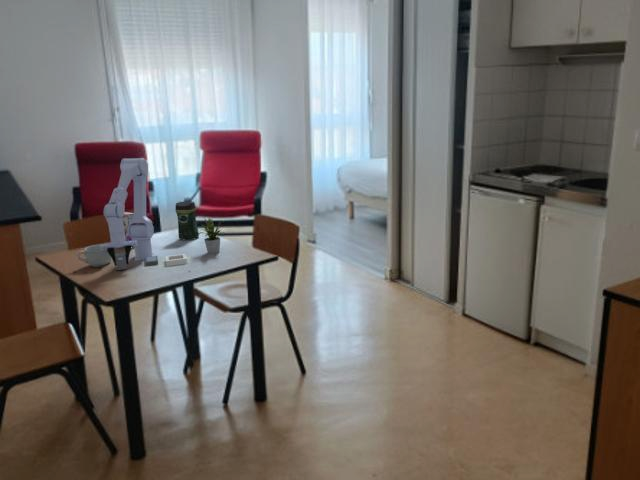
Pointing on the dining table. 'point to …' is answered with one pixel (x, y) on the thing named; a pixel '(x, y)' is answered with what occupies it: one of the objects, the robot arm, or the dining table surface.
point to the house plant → (212, 237)
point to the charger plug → (121, 261)
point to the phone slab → (151, 260)
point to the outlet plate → (169, 261)
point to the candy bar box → (127, 224)
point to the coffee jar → (187, 220)
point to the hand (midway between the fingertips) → (121, 264)
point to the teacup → (95, 256)
